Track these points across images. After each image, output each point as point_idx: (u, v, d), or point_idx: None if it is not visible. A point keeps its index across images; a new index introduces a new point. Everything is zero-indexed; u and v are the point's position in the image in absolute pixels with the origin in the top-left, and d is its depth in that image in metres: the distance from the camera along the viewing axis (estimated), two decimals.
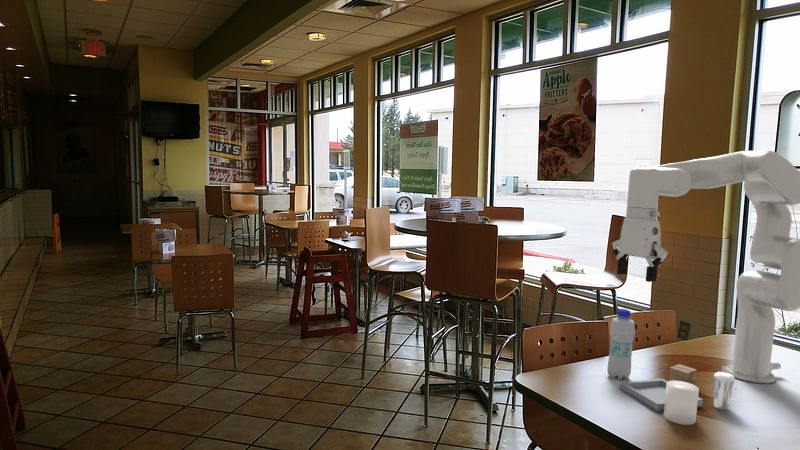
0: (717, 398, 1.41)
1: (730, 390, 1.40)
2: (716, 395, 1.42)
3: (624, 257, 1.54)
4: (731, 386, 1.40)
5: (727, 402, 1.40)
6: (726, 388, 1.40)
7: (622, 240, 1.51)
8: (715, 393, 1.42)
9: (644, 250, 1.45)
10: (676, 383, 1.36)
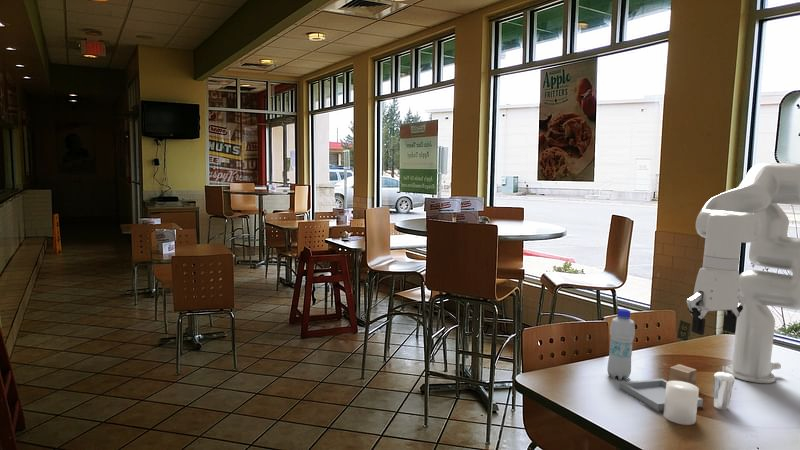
0: (717, 398, 1.41)
1: (730, 390, 1.40)
2: (716, 395, 1.42)
3: None
4: (731, 386, 1.40)
5: (727, 402, 1.40)
6: (726, 388, 1.40)
7: (713, 296, 1.33)
8: (715, 393, 1.42)
9: (736, 302, 1.35)
10: (676, 383, 1.36)
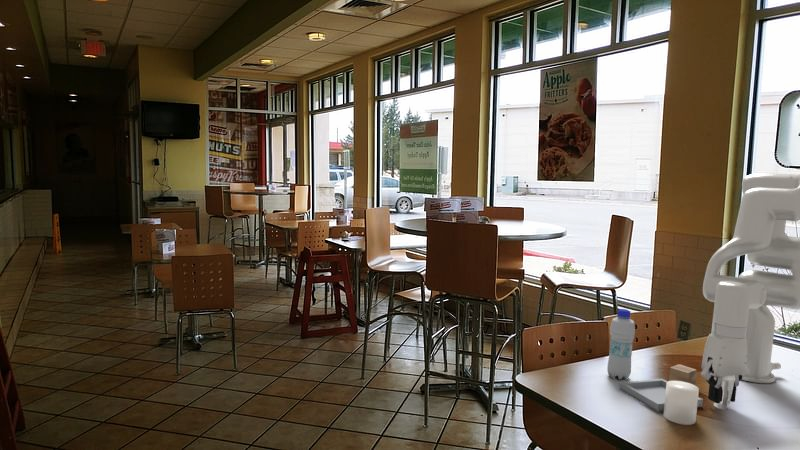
0: None
1: (731, 390, 1.40)
2: None
3: None
4: (732, 386, 1.40)
5: (727, 402, 1.40)
6: (727, 388, 1.40)
7: (721, 363, 1.38)
8: None
9: (744, 367, 1.41)
10: (676, 383, 1.36)
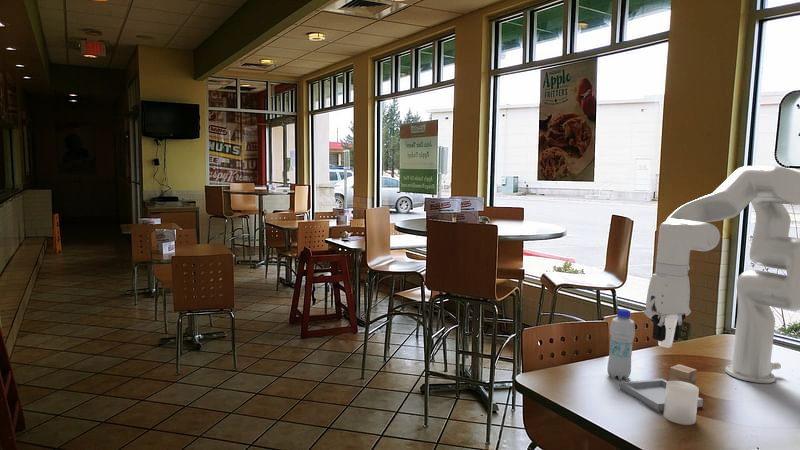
0: None
1: (673, 328, 1.43)
2: None
3: None
4: (674, 324, 1.42)
5: (670, 340, 1.43)
6: (669, 326, 1.42)
7: (663, 301, 1.41)
8: None
9: (686, 306, 1.43)
10: (676, 383, 1.36)
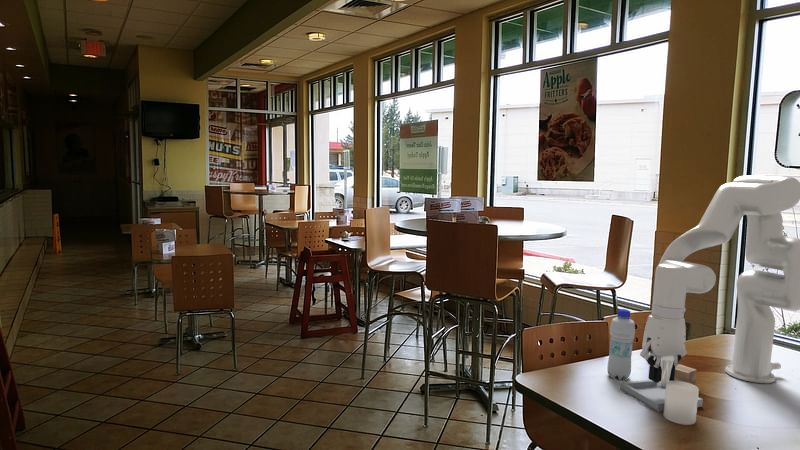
0: None
1: (669, 369, 1.44)
2: None
3: None
4: (670, 366, 1.44)
5: (666, 381, 1.44)
6: (665, 367, 1.43)
7: (659, 343, 1.42)
8: None
9: (682, 347, 1.44)
10: (676, 383, 1.36)
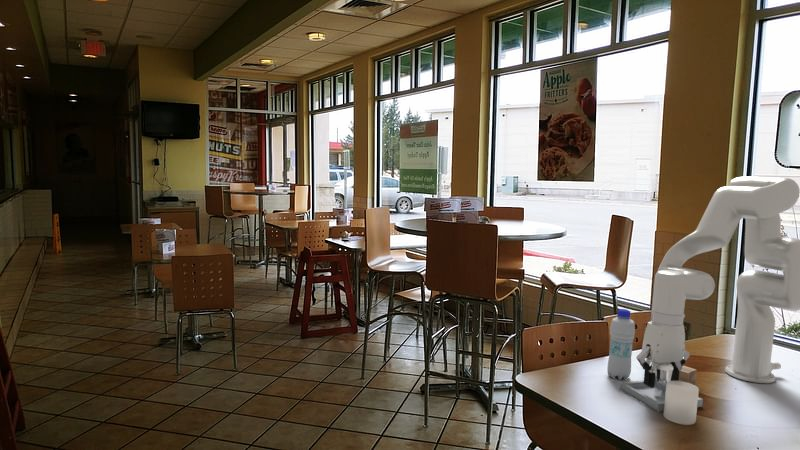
0: (657, 387, 1.45)
1: (669, 379, 1.44)
2: (656, 384, 1.46)
3: None
4: (670, 375, 1.44)
5: None
6: (665, 377, 1.44)
7: (659, 350, 1.42)
8: (655, 382, 1.46)
9: (681, 354, 1.44)
10: (676, 383, 1.36)
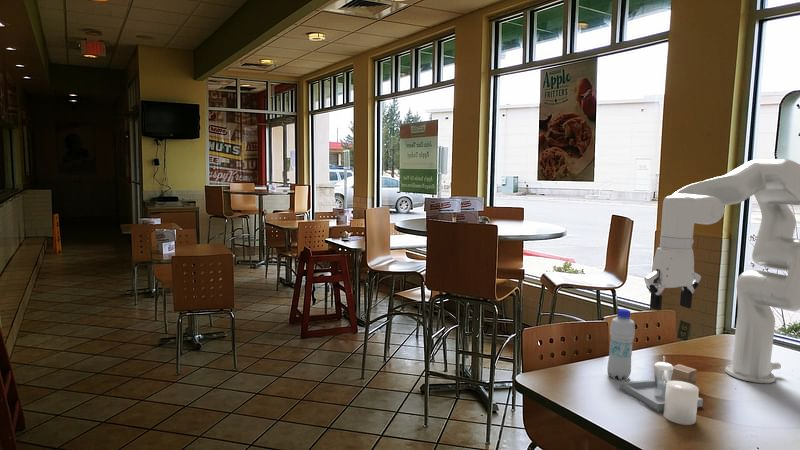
0: (657, 387, 1.45)
1: (669, 379, 1.44)
2: (656, 384, 1.46)
3: None
4: (670, 375, 1.44)
5: None
6: (665, 377, 1.44)
7: (668, 274, 1.42)
8: (655, 382, 1.46)
9: (691, 279, 1.45)
10: (676, 383, 1.36)
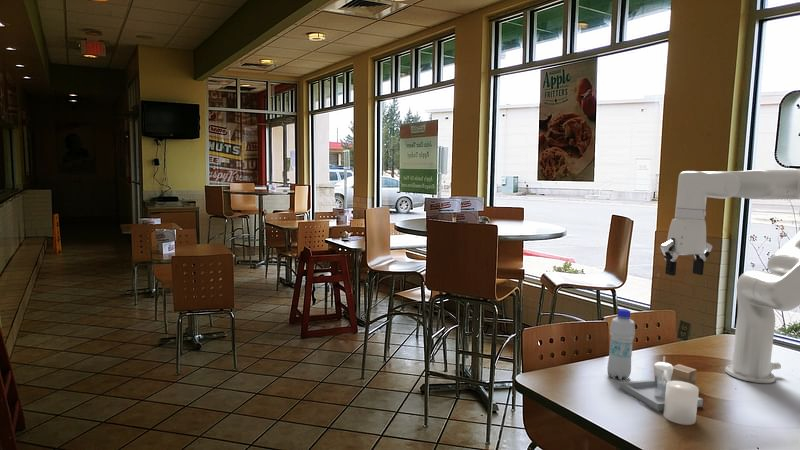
0: (657, 387, 1.45)
1: (669, 379, 1.44)
2: (656, 384, 1.46)
3: None
4: (670, 375, 1.44)
5: None
6: (665, 377, 1.44)
7: (683, 242, 1.55)
8: (655, 382, 1.46)
9: (703, 247, 1.58)
10: (676, 383, 1.36)
